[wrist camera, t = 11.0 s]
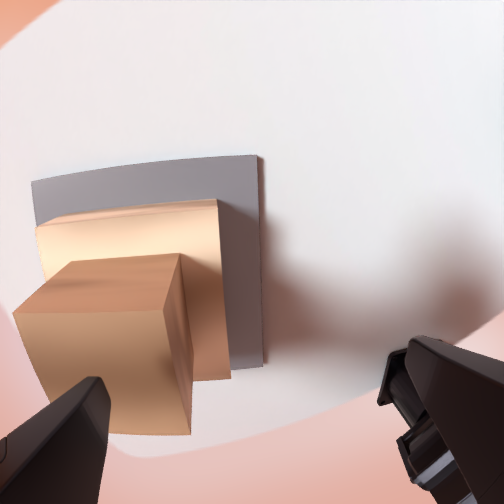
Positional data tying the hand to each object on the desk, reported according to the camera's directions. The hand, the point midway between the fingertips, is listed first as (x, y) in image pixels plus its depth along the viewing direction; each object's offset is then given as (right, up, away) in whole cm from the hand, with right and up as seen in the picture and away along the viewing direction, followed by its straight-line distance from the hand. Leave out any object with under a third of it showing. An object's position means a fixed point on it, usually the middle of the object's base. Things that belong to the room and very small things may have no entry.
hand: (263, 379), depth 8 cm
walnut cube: (-7, 0, +8) cm, 10 cm away
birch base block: (-7, +1, +11) cm, 14 cm away
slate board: (-7, +2, +12) cm, 14 cm away
